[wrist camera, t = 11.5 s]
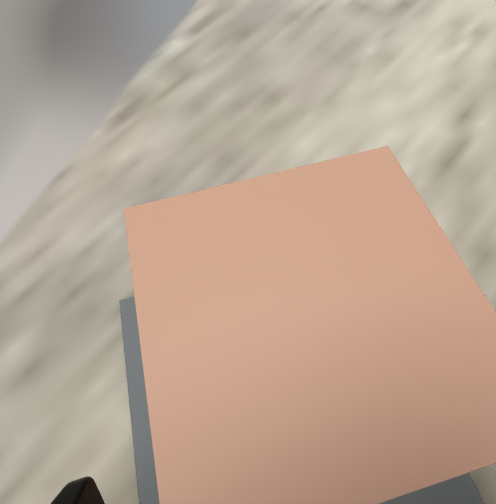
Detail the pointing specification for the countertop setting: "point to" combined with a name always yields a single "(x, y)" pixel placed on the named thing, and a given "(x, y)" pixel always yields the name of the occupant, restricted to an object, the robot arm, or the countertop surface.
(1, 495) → the countertop surface
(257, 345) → the terracotta block
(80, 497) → the robot arm
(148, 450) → the rubber mat
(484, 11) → the countertop surface
